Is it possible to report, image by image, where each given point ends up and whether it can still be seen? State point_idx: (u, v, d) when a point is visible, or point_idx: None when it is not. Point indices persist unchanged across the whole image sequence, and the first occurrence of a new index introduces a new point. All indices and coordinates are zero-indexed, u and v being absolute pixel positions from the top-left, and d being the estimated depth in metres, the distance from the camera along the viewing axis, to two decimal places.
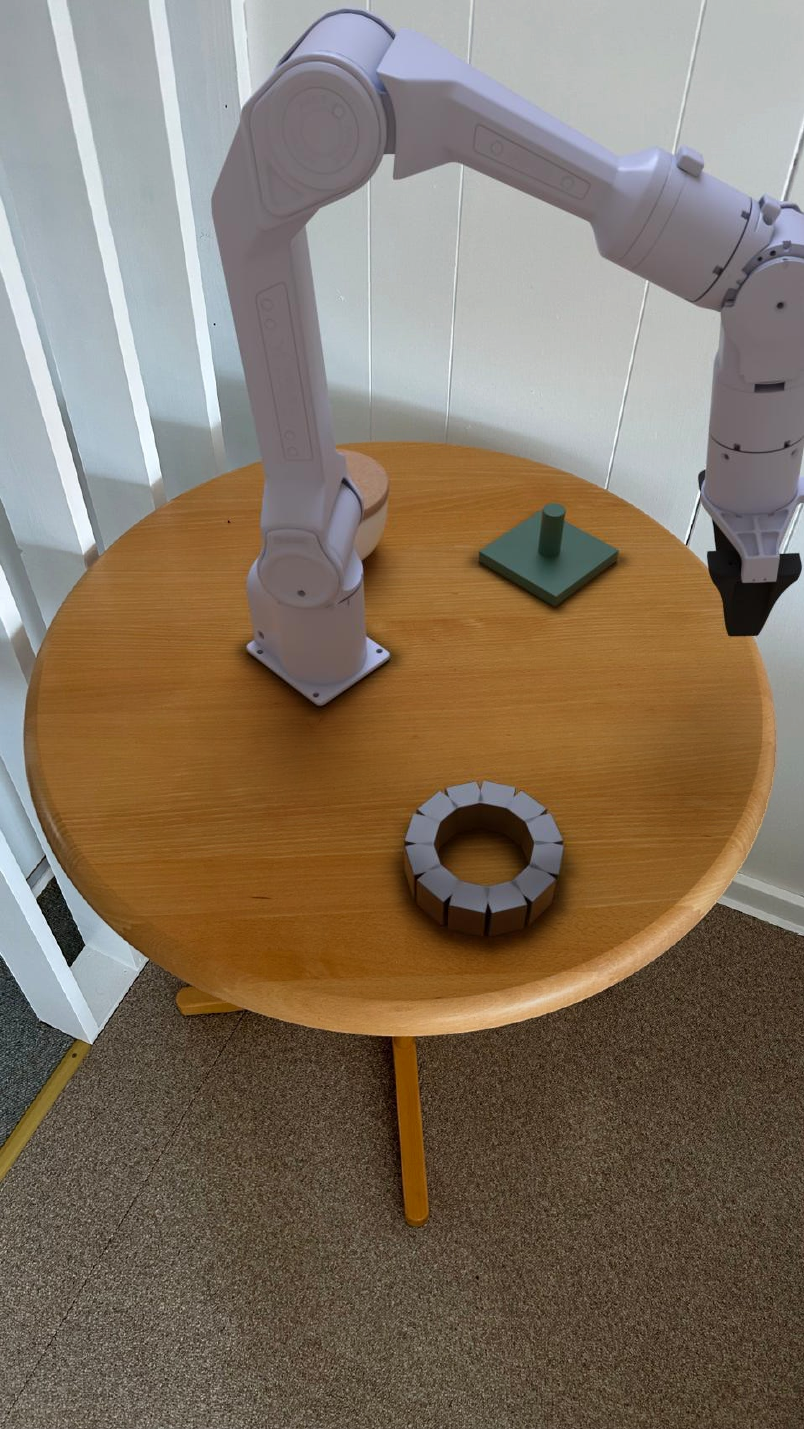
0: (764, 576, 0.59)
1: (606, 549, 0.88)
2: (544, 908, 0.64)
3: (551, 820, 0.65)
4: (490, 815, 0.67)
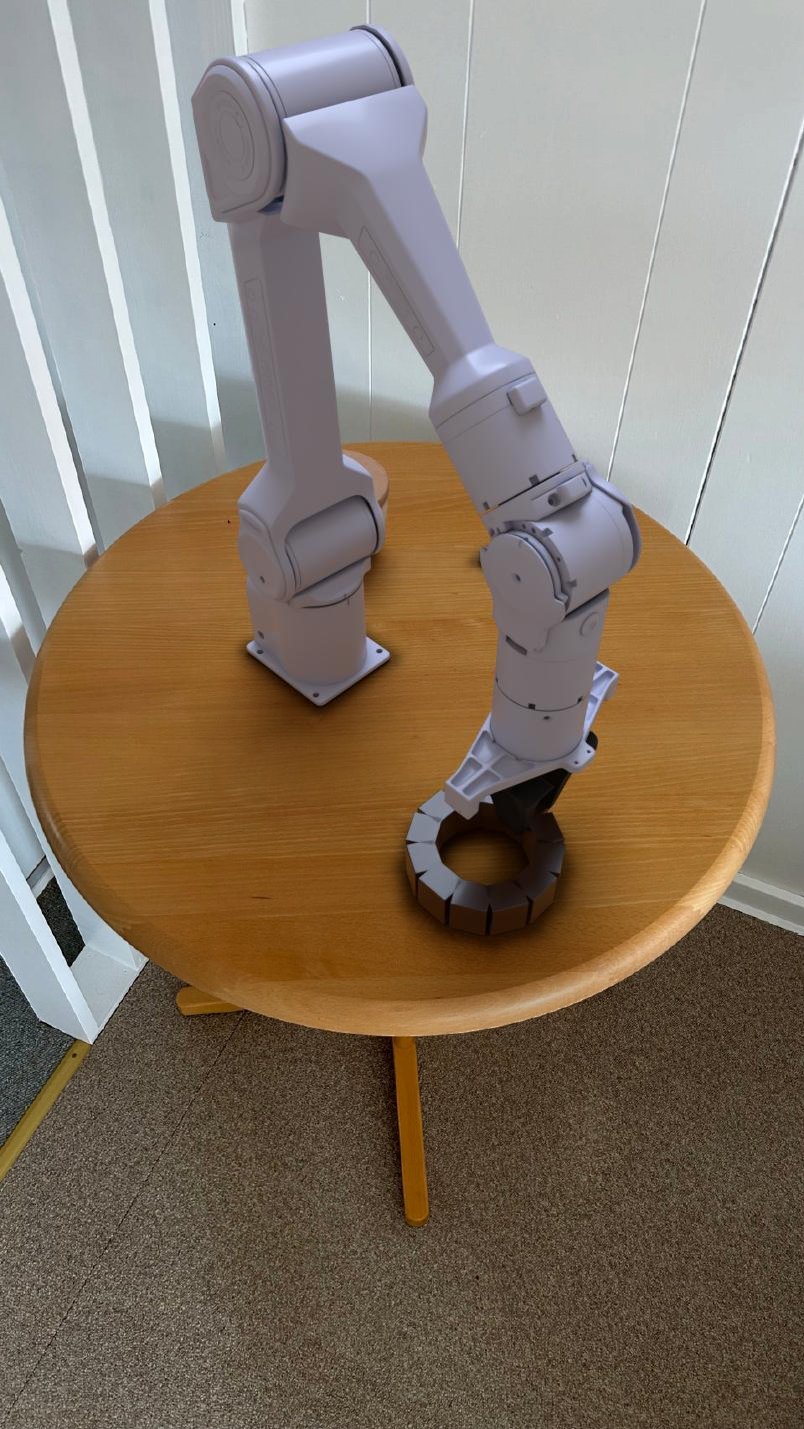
0: (459, 808, 0.58)
1: None
2: (545, 907, 0.64)
3: (552, 819, 0.66)
4: (492, 814, 0.67)
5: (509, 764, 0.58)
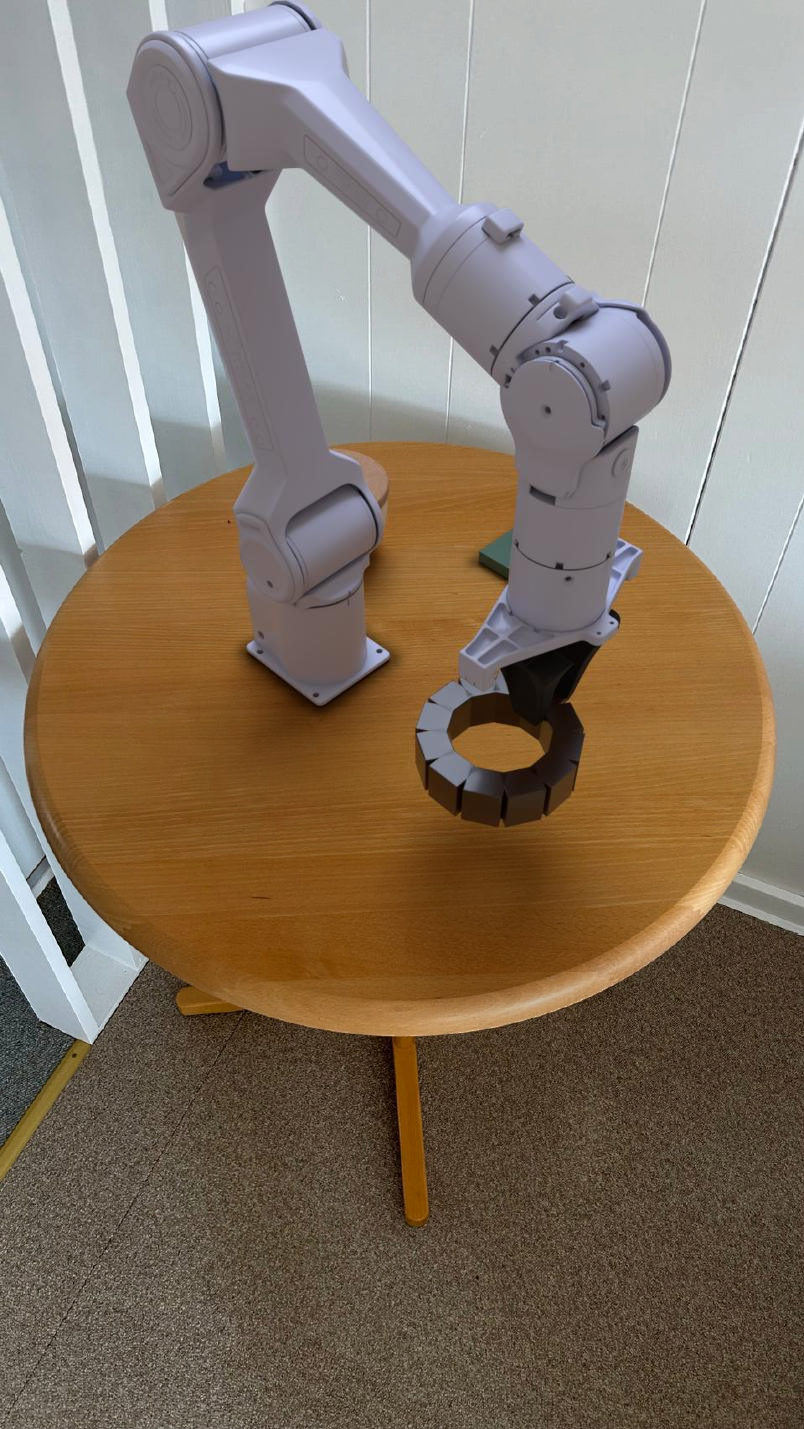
0: (474, 680, 0.54)
1: None
2: (563, 799, 0.60)
3: (571, 709, 0.62)
4: (506, 706, 0.64)
5: (527, 636, 0.55)
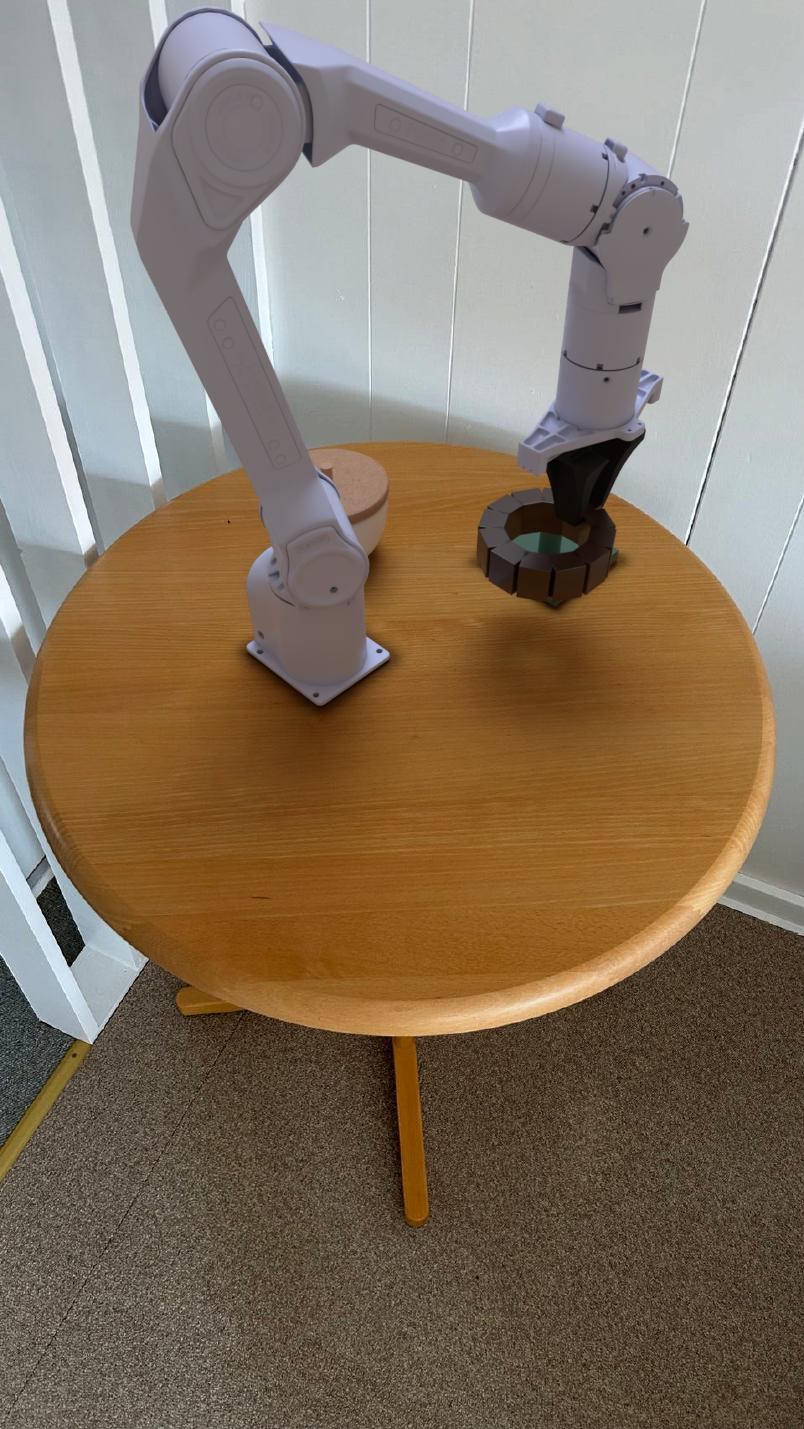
0: (530, 467, 0.68)
1: None
2: (599, 582, 0.74)
3: (604, 513, 0.76)
4: (551, 515, 0.78)
5: (572, 434, 0.69)
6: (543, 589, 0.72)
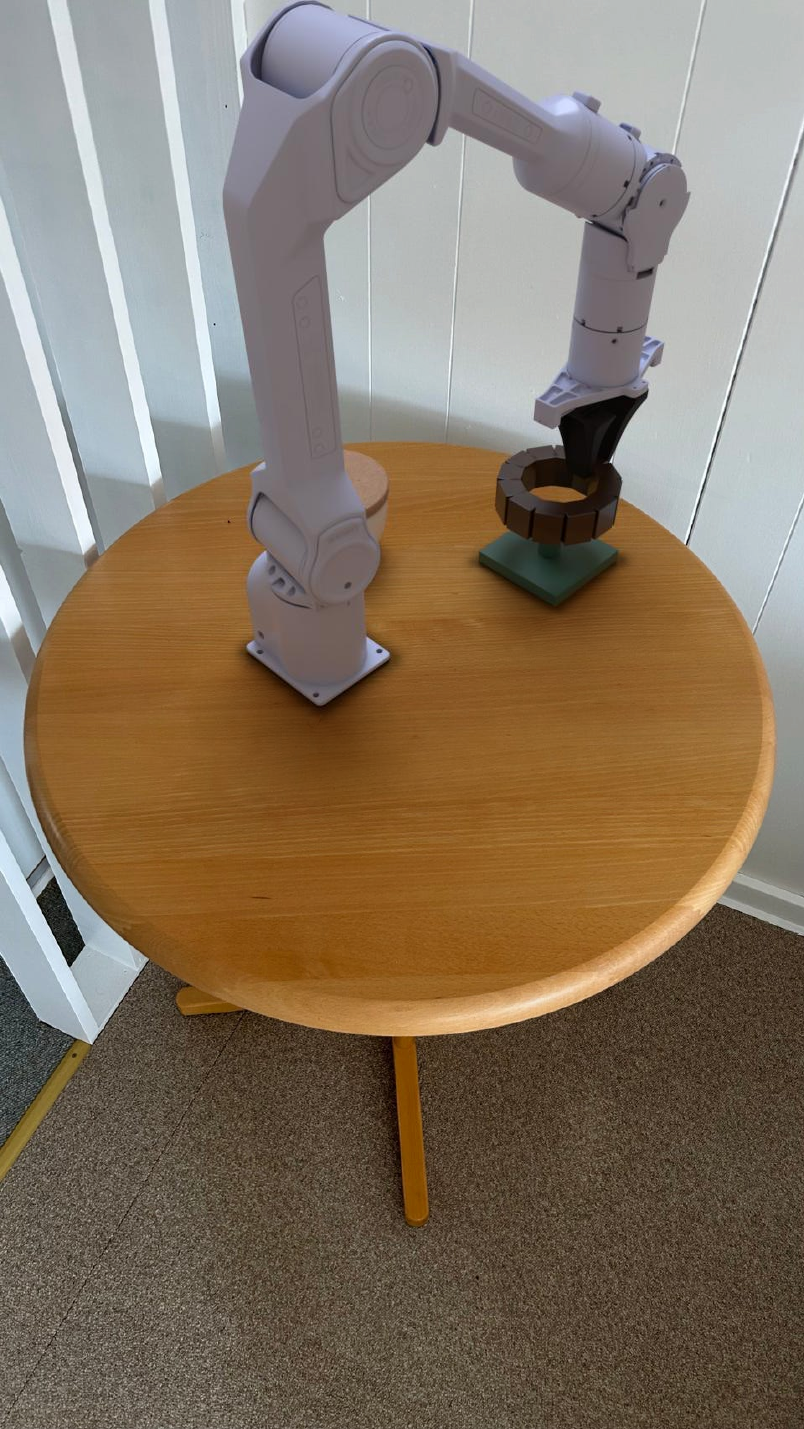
0: (545, 421, 0.76)
1: (606, 549, 0.88)
2: (606, 528, 0.82)
3: (611, 466, 0.83)
4: (562, 470, 0.85)
5: (583, 392, 0.76)
6: (556, 533, 0.80)
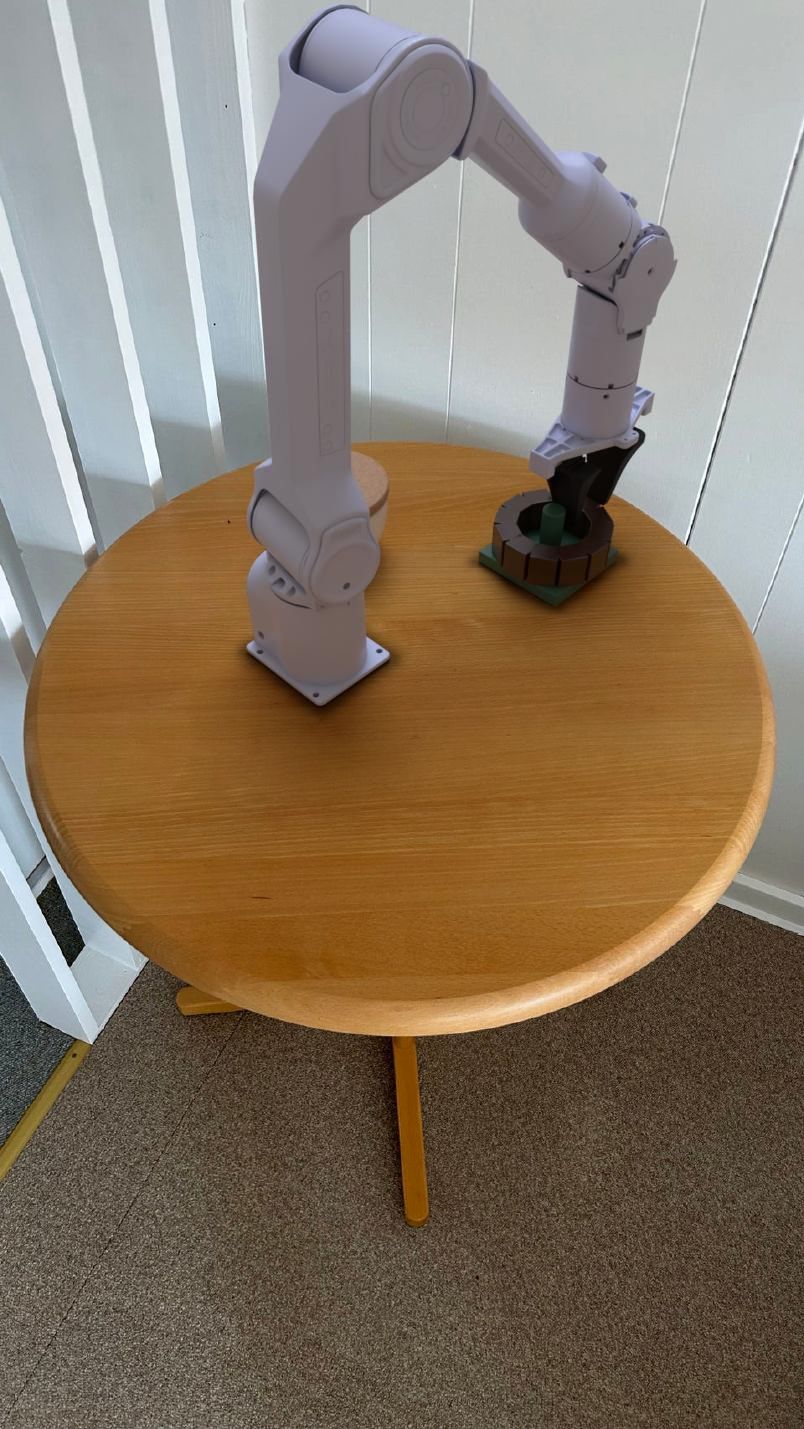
0: (540, 471, 0.79)
1: None
2: (599, 570, 0.85)
3: (604, 510, 0.87)
4: None
5: (576, 443, 0.80)
6: (550, 576, 0.83)
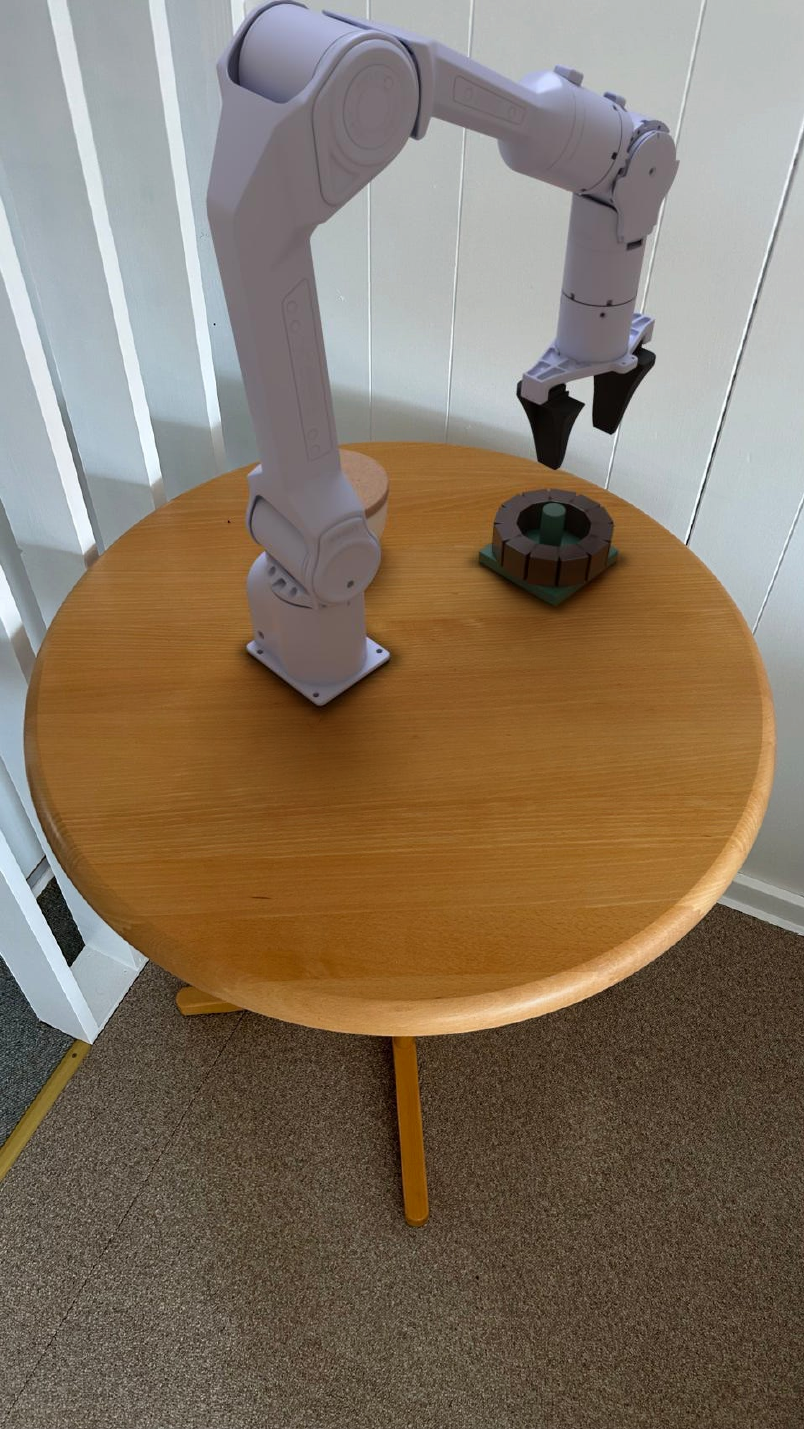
0: (533, 396, 0.74)
1: None
2: (599, 570, 0.85)
3: (604, 510, 0.87)
4: None
5: (571, 367, 0.75)
6: (550, 576, 0.83)
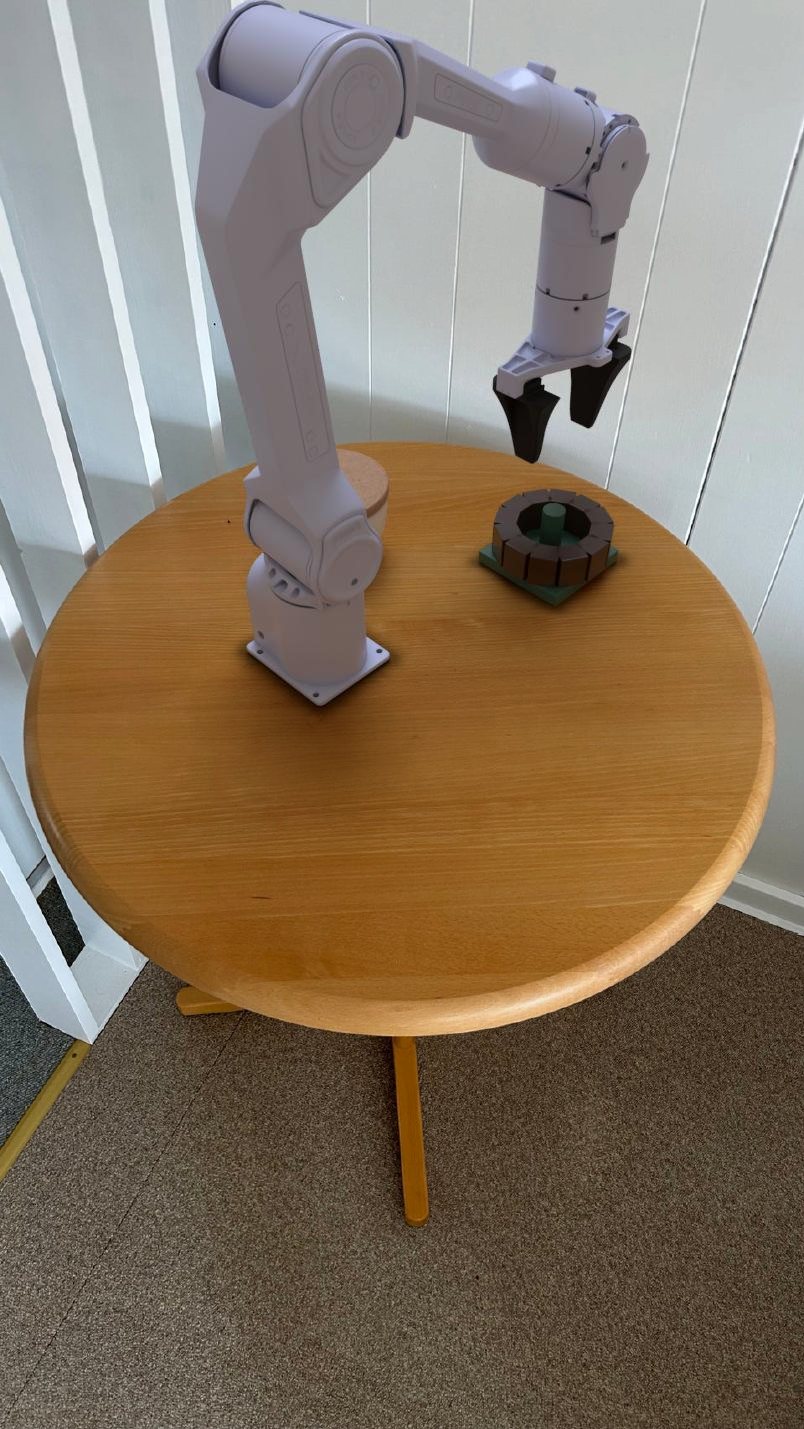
0: (508, 390, 0.75)
1: None
2: (599, 570, 0.85)
3: (604, 510, 0.87)
4: None
5: (546, 361, 0.76)
6: (550, 576, 0.83)
